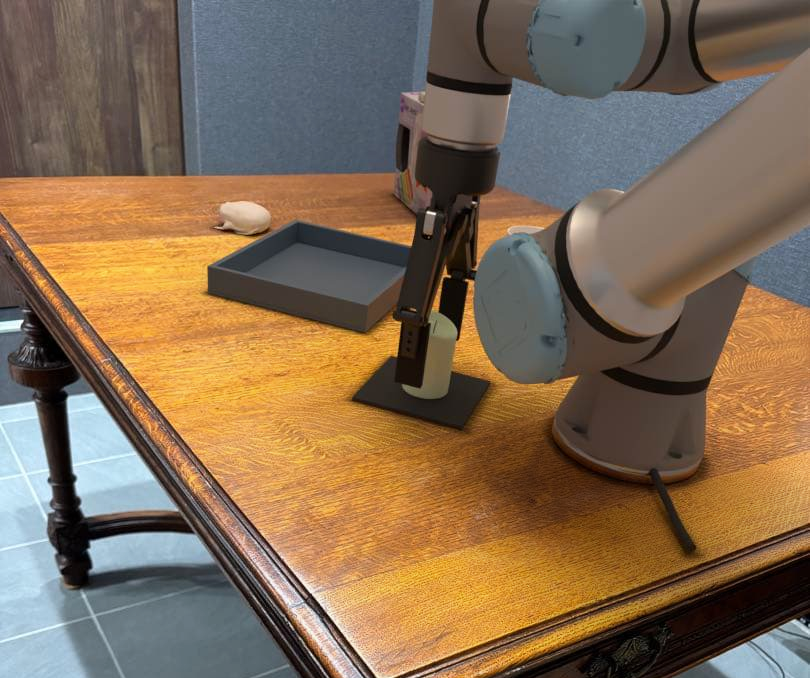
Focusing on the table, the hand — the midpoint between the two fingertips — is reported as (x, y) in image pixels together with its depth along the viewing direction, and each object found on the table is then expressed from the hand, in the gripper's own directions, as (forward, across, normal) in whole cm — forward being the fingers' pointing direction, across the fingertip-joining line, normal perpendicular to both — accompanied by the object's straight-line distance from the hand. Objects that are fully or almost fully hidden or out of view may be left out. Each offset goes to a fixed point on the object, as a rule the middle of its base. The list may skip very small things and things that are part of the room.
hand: (428, 359), depth 85 cm
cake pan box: (+4, -70, -24) cm, 74 cm away
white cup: (+4, -32, +4) cm, 33 cm away
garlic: (+4, -38, -42) cm, 57 cm away
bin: (+4, -24, -22) cm, 33 cm away
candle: (+4, 0, 0) cm, 4 cm away
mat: (+4, 0, 0) cm, 4 cm away
